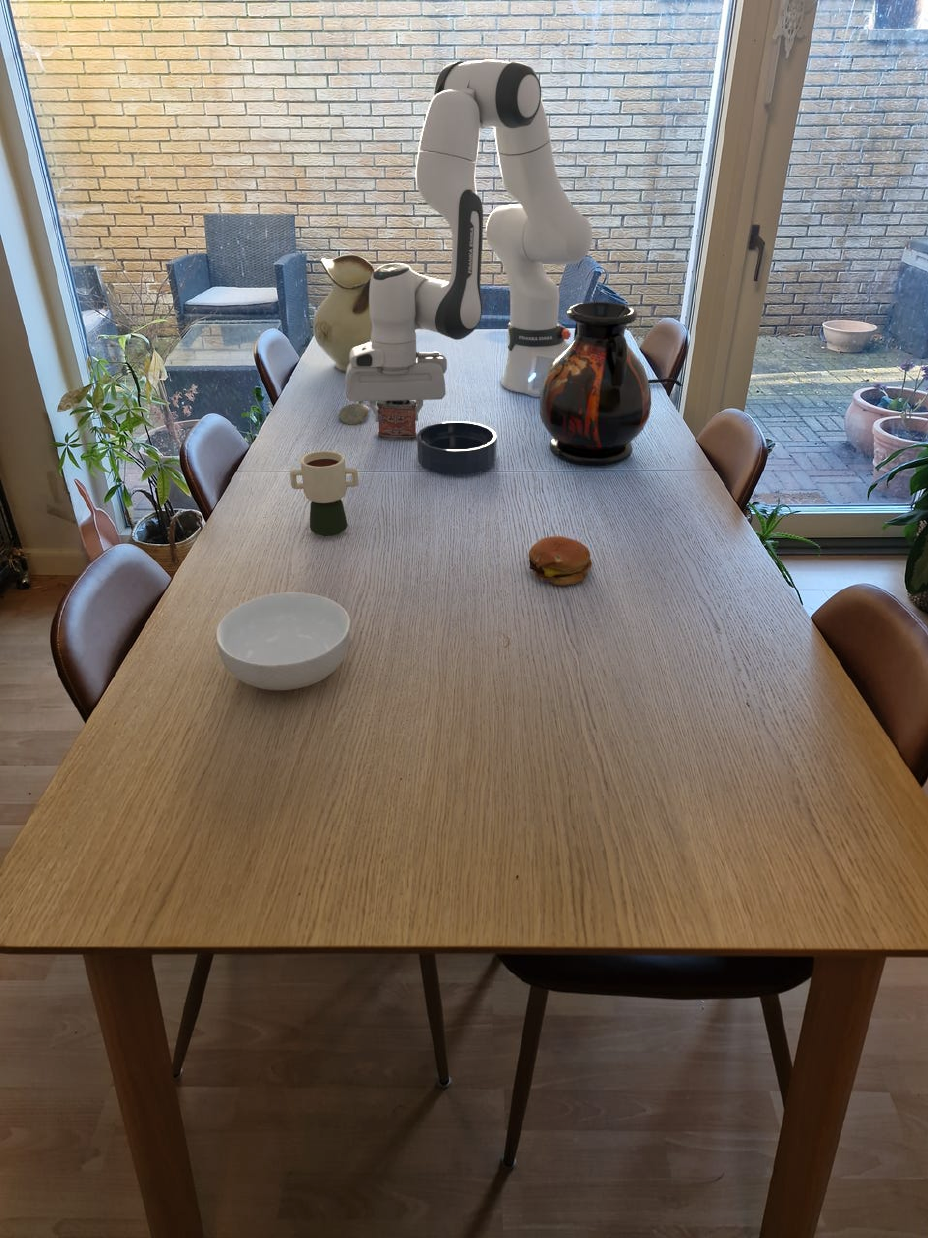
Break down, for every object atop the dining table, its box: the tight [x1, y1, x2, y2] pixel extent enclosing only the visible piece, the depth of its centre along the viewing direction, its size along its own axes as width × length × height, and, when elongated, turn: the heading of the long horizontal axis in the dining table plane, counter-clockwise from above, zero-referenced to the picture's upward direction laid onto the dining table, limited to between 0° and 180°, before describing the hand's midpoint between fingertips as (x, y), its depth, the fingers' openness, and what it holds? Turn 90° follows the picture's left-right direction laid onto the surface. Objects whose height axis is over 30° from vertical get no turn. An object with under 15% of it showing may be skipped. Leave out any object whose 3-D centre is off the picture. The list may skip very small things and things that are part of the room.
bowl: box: [416, 420, 498, 476], centre depth 171 cm, size 15×15×6 cm
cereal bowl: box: [215, 591, 352, 691], centre depth 114 cm, size 17×17×7 cm
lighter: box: [376, 400, 417, 441], centre depth 181 cm, size 8×3×10 cm, turn 84°
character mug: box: [289, 450, 359, 538], centre depth 145 cm, size 11×7×13 cm, turn 95°
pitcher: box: [312, 253, 376, 373], centre depth 217 cm, size 22×24×25 cm
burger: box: [527, 535, 593, 587], centre depth 136 cm, size 10×9×5 cm
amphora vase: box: [539, 301, 652, 468], centre depth 169 cm, size 22×22×28 cm
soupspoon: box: [338, 401, 370, 425], centre depth 198 cm, size 22×3×7 cm
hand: (396, 420), depth 182 cm, fingers closed on lighter, 6 cm apart
